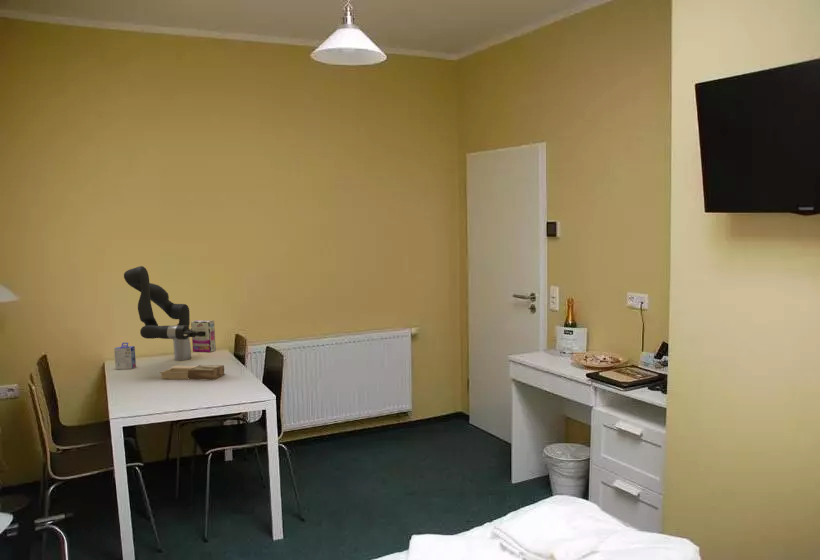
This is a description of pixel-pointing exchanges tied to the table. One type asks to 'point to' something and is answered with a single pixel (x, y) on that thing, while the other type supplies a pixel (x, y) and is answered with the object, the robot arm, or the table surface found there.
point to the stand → (206, 372)
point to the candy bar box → (206, 341)
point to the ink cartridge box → (125, 357)
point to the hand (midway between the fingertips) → (207, 332)
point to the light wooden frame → (177, 372)
